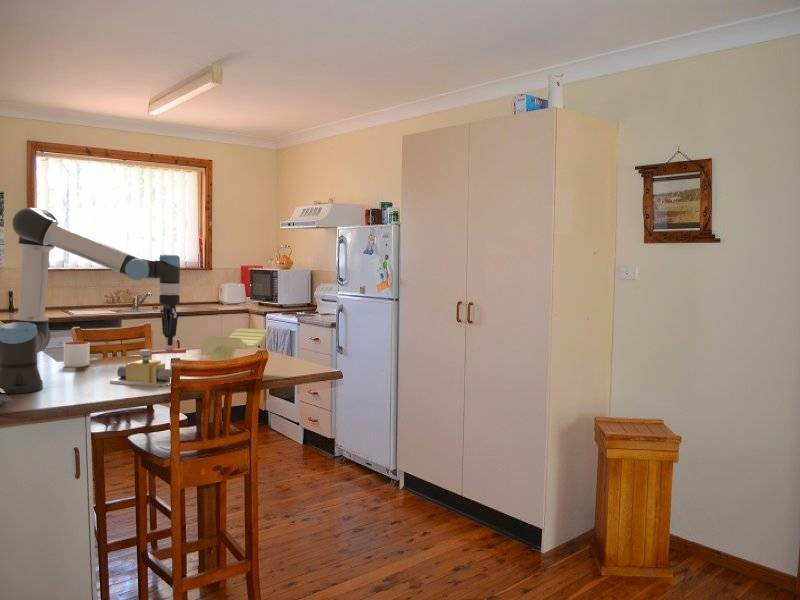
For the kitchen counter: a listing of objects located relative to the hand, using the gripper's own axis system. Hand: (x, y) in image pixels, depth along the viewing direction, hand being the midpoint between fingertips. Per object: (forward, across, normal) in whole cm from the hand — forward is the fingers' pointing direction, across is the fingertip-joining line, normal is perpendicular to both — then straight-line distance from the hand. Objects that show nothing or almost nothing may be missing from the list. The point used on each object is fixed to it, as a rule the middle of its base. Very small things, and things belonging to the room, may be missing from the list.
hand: (168, 353), depth 248 cm
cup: (+12, +48, +22) cm, 54 cm away
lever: (0, -2, +3) cm, 4 cm away
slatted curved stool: (+11, -5, -26) cm, 29 cm away
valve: (+10, -1, +10) cm, 14 cm away
